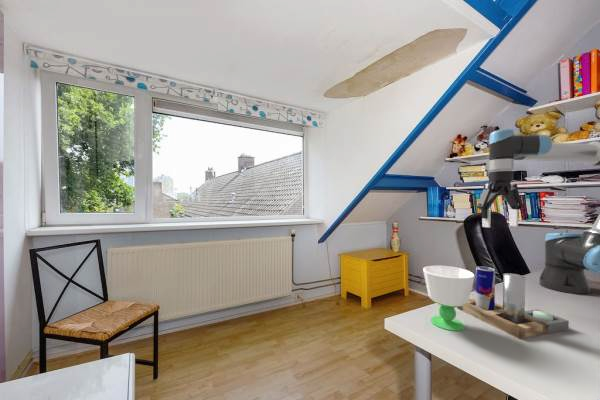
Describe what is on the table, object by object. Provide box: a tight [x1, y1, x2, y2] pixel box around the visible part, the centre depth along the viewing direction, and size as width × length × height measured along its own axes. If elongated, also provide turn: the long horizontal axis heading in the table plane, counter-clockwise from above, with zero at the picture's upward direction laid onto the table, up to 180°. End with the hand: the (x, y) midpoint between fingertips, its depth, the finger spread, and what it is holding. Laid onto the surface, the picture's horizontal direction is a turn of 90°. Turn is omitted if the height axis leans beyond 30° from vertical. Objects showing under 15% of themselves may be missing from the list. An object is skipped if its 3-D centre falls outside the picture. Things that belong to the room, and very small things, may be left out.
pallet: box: [456, 298, 550, 340], centre depth 82 cm, size 11×20×2 cm, turn 15°
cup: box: [422, 265, 476, 332], centre depth 80 cm, size 14×14×16 cm
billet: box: [502, 272, 526, 324], centre depth 78 cm, size 5×5×15 cm
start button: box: [533, 310, 553, 322], centre depth 79 cm, size 4×4×2 cm
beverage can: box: [475, 266, 496, 311], centre depth 87 cm, size 5×5×15 cm
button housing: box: [525, 309, 570, 334], centre depth 79 cm, size 8×8×2 cm
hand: (500, 226), depth 102 cm, fingers open, 13 cm apart
